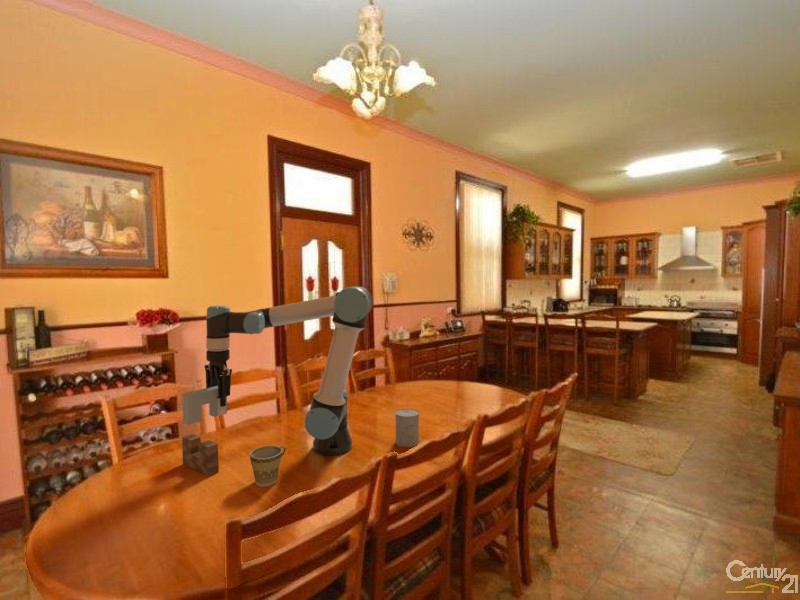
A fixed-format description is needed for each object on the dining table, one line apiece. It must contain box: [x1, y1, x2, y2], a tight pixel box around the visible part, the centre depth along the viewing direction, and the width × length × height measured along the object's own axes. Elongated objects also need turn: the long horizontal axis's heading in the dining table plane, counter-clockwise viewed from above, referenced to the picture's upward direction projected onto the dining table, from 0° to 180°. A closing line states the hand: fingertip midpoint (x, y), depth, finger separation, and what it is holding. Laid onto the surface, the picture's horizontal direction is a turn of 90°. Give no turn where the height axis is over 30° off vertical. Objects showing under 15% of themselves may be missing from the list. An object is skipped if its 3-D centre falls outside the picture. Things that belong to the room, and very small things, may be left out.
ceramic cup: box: [249, 445, 287, 488], centre depth 131 cm, size 13×10×10 cm
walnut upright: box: [181, 433, 220, 477], centre depth 139 cm, size 16×4×10 cm, turn 57°
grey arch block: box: [182, 386, 228, 426], centre depth 140 cm, size 4×14×10 cm, turn 146°
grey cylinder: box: [395, 408, 420, 448], centre depth 161 cm, size 10×10×12 cm
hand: (217, 413), depth 144 cm, fingers closed on grey arch block, 3 cm apart
